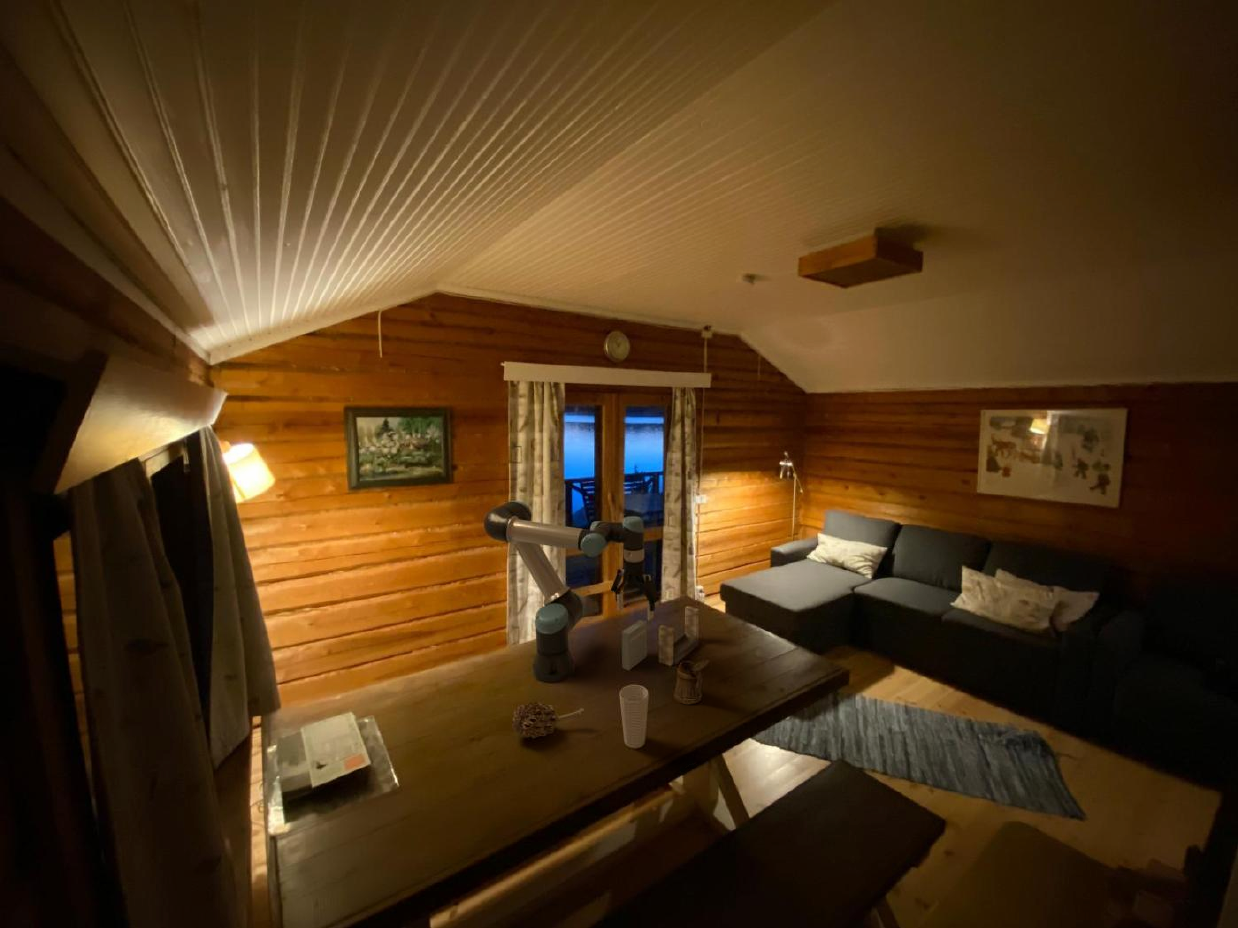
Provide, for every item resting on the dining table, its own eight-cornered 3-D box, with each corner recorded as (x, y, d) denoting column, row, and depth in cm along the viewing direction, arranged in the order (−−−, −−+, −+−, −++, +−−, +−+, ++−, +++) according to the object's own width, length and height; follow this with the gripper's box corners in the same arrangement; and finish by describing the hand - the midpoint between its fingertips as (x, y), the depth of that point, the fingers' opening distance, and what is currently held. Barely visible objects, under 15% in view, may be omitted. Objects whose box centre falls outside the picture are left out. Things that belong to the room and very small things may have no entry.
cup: (614, 741, 149) (613, 692, 147) (634, 727, 155) (633, 680, 153) (635, 756, 143) (634, 705, 141) (655, 741, 149) (655, 692, 147)
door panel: (622, 667, 188) (621, 632, 186) (640, 653, 198) (639, 619, 196) (629, 670, 186) (628, 634, 184) (647, 656, 196) (646, 621, 194)
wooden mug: (694, 715, 160) (694, 662, 157) (668, 693, 172) (668, 644, 169) (715, 706, 165) (716, 654, 162) (689, 685, 176) (690, 637, 173)
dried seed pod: (515, 751, 146) (513, 719, 144) (510, 730, 155) (509, 700, 153) (589, 733, 153) (588, 702, 151) (581, 714, 162) (580, 685, 160)
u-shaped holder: (656, 660, 192) (655, 626, 190) (684, 637, 210) (684, 605, 208) (673, 667, 188) (673, 631, 186) (701, 642, 205) (701, 609, 203)
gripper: (600, 555, 190) (602, 609, 193) (657, 568, 176) (658, 626, 179) (612, 550, 196) (614, 602, 199) (668, 562, 182) (669, 618, 185)
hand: (635, 614), depth 189 cm, fingers open, 13 cm apart
